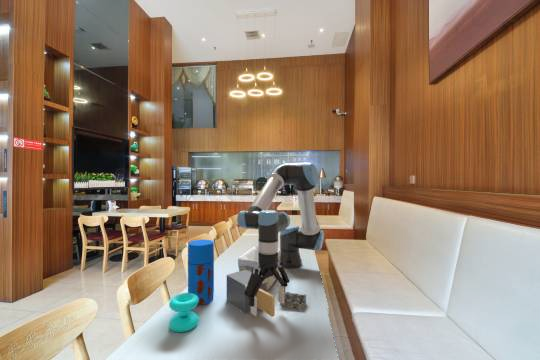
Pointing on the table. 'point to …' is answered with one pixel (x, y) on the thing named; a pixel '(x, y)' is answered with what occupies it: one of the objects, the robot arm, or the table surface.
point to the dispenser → (240, 290)
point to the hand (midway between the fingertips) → (268, 307)
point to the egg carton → (297, 299)
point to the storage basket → (255, 264)
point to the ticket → (266, 302)
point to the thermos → (201, 270)
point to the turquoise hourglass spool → (184, 312)
